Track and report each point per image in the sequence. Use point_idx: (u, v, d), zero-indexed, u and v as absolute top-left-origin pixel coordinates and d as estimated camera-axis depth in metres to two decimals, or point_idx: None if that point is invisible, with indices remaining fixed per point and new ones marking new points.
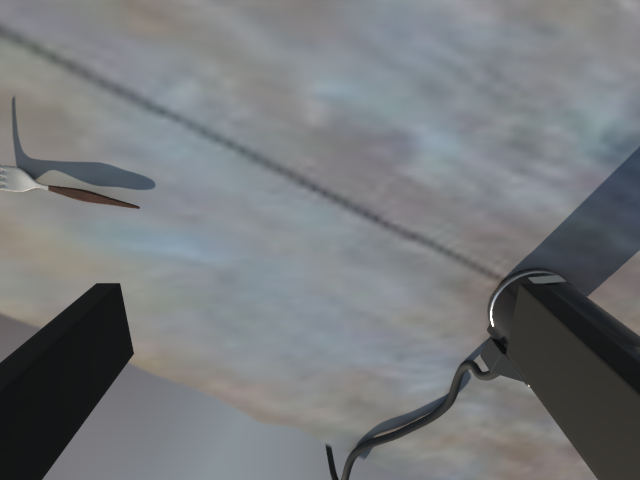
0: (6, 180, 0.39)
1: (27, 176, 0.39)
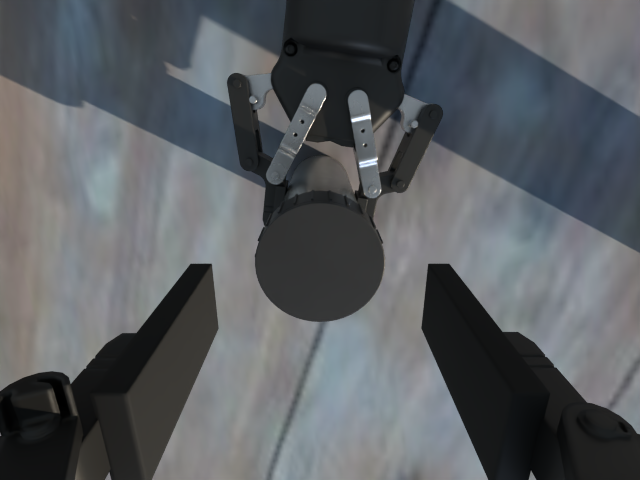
0: None
1: None
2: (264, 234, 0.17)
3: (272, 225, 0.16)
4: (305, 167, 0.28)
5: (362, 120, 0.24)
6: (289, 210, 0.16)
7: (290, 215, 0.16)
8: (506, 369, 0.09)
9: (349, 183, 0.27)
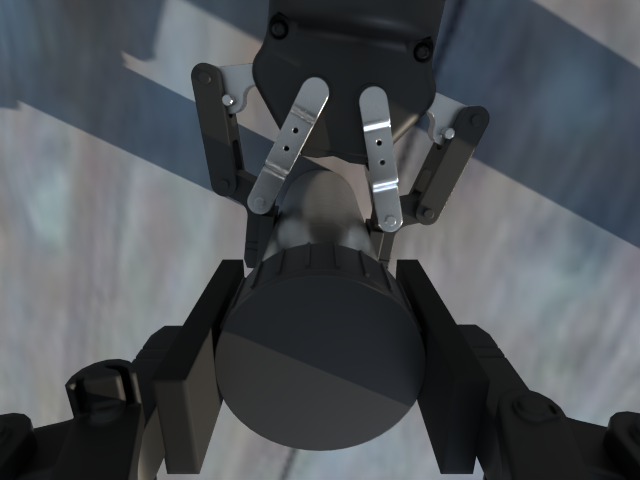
0: None
1: None
2: (227, 324, 0.10)
3: (240, 311, 0.10)
4: (301, 188, 0.21)
5: (378, 128, 0.17)
6: (268, 287, 0.10)
7: (270, 295, 0.10)
8: (452, 358, 0.09)
9: (359, 210, 0.20)
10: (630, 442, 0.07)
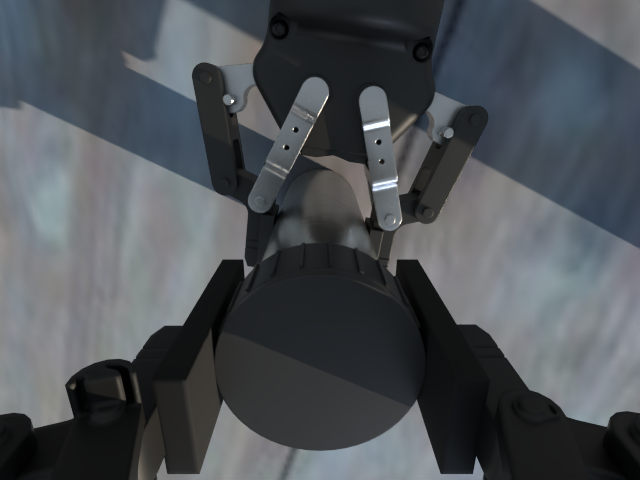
0: None
1: None
2: (305, 447, 0.11)
3: (287, 444, 0.11)
4: (301, 187, 0.22)
5: (378, 127, 0.17)
6: (256, 432, 0.11)
7: (262, 429, 0.11)
8: (452, 358, 0.09)
9: (358, 209, 0.21)
10: (630, 442, 0.07)
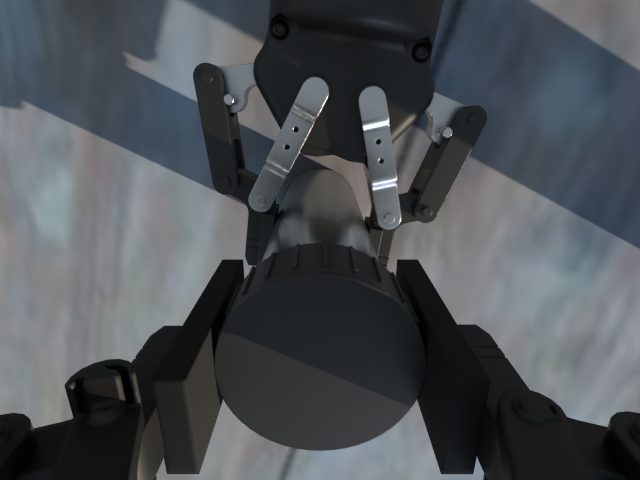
0: None
1: None
2: (422, 349, 0.10)
3: (422, 367, 0.10)
4: (301, 187, 0.22)
5: (377, 127, 0.17)
6: (417, 396, 0.11)
7: (411, 393, 0.11)
8: (453, 358, 0.09)
9: (358, 208, 0.21)
10: (630, 442, 0.07)
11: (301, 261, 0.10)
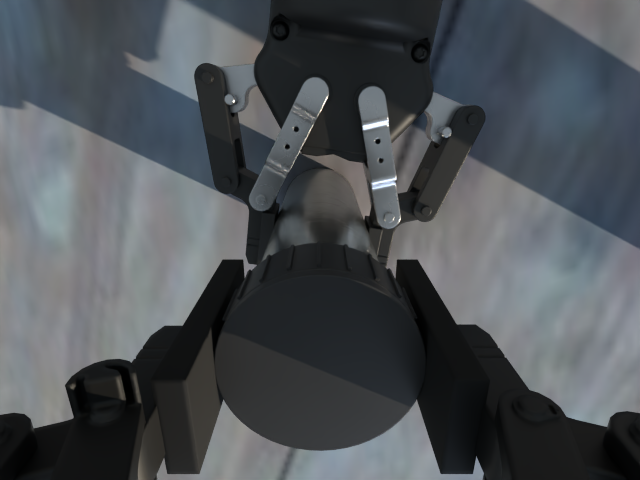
0: None
1: None
2: (253, 297, 0.10)
3: (272, 289, 0.10)
4: (301, 186, 0.22)
5: (377, 126, 0.18)
6: (309, 276, 0.09)
7: (307, 284, 0.10)
8: (452, 358, 0.09)
9: (358, 208, 0.21)
10: (630, 442, 0.07)
11: None
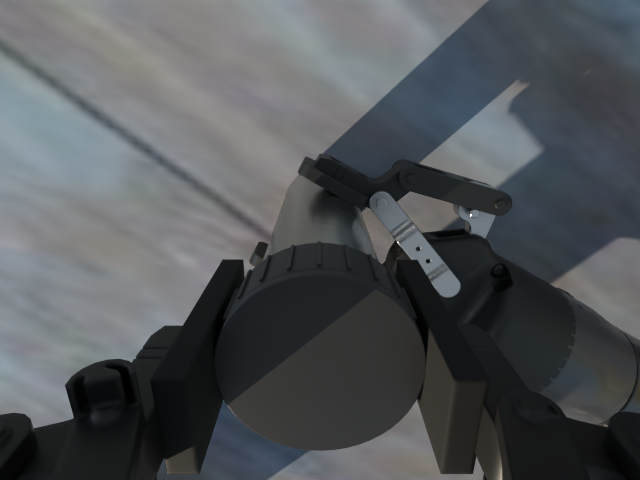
0: None
1: None
2: (253, 297, 0.10)
3: (272, 288, 0.10)
4: None
5: None
6: (309, 276, 0.09)
7: (308, 284, 0.10)
8: (452, 358, 0.09)
9: None
10: (630, 442, 0.07)
11: None
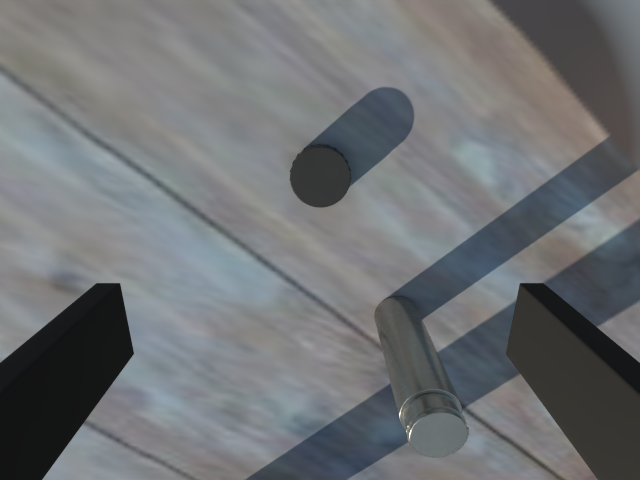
0: None
1: None
2: (302, 154, 0.36)
3: (307, 151, 0.36)
4: None
5: None
6: (317, 147, 0.36)
7: (316, 150, 0.36)
8: None
9: None
10: None
11: None
